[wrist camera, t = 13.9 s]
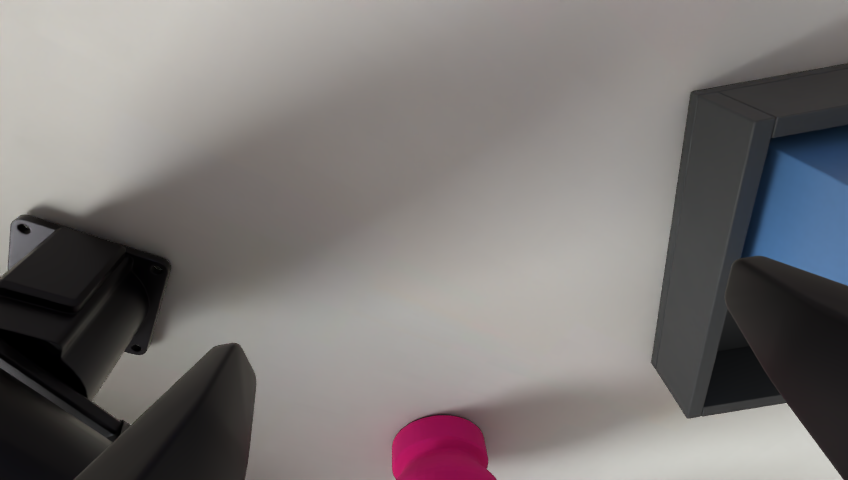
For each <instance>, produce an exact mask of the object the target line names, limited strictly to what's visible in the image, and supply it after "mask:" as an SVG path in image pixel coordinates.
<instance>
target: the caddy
mask: <svg viewBox="0 0 848 480" xmlns="http://www.w3.org/2000/svg"><path fill="white" fill-rule="evenodd" d="M844 125H848V64H842V65H837V66H831V67H826V68H820V69H815V70H809V71H803V72H798V73H792V74H787V75H781V76H776V77H770V78H765V79H759V80H754V81H748V82H743V83H737V84H732V85H726V86H721V87H715V88H710V89H704V90H698V91H693V92H691V95H690V101H689V108H688V115H687V122H686V129H685V136H684V142H683V149H682V156H681V163H680V170H679V177H678V183H677V190H676V197H675V204H674V211H673V218H672V224H671V231H670V238H669V245H668V252H667V259H666V265H665V272H664V279H663V286H662V293H661V300H660V306H659V313H658V320H657V327H656V334H655V341H654V347H653V354H652V361H651V363H652V365H653V366H654V368H655V369H656V371H657V372H658V374H659V375H660V377H661V379H662V380H663V382H664V383H665V385H666V386H667V388H668V389H669V391H670V393H671V394H672V396H673V397H674V399H675V400H676V402H677V403H678V405H679V407H680V408H681V410H682V411H683V413H684V414H685V416H686V417H687V418H694V417H700V416H708V415H714V414H721V413H727V412H733V411H739V410H745V409H751V408H757V407H764V406H770V405H776V404H782V403H787V402H786V401H785V400H784V398H783V397H782V396H781V394H780V393H779V392H778V390H777V389H776V387H775V386H774V384H773V383H772V382H771V380H770V378H769V377H768V375H767V374H766V372H765V371H764V369H763V367H762V366H761V364H760V362H759V361H758V359H757V357H756V356H755V354H754V352H753V351H752V349H751V347H750V345H749V344H748V342H747V340H746V339H745V337H744V335H743V334H742V332H741V330H740V329H739V327H738V325H737V323H736V322H735V320H734V318H733V317H732V315H731V313H730V312H729V310H728V308H727V306H726V303H725V291H726V287H727V283H728V279H729V274H730V270H731V266H732V264H733V263H734V261H735V260H737V259H740V258H741V255H742V251H743V247H744V243H745V239H746V235H747V231H748V227H749V223H750V219H751V215H752V211H753V208H754V204H755V200H756V196H757V192H758V188H759V184H760V180H761V176H762V172H763V168H764V164H765V160H766V156H767V152H768V148H769V144H770V140H771V138H776V137H782V136H787V135H793V134H799V133H804V132H810V131H816V130H821V129H827V128H833V127H838V126H844Z"/></svg>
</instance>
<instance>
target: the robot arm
mask: <svg viewBox="0 0 848 480" xmlns="http://www.w3.org/2000/svg"><path fill="white" fill-rule="evenodd" d="M24 225H26V226H28V227H29V228H30V229H28V228H26V227H25V226H24ZM155 266H158V267H160V268H161V269H162V270H159V269H157V268H156V267H155ZM170 270H171V265H170V263H169V262H168V261H167V260H166V259H164V258H161V257H158V256H155V255H152V254H149V253H146V252H143V251H140V250H136V249H133V248H130V247H127V246H124V245H121V244H118V243H115V242H111V241H108V240H105V239H102V238H99V237H96V236H93V235H90V234H86V233H83V232H80V231H77V230H74V229H71V228H68V227H64V226H61V225H58V224H55V223H52V222H49V221H46V220H43V219H39V218H36V217H33V216H30V215H21V216H19V217H18V218H17V219H15V220H14V221H13V222H12V223H11V229H10V244H9V258H8V271H7V272H6V273H5V274H4V275H2V276H1V277H0V480H245V475H246V470H247V465H248V457H249V449H250V440H251V431H252V421H253V412H254V402H255V393H256V376H255V373H254V370H253V368H252V366H251V365H250V363H249V361H248V359H247V357H246V355H245V353H244V351H243V349H242V348H241V346H240V345H239V344H237V343H230V344H224V345H218V346H215V347H213V348H212V349H211V350H210V351H209V352H208V353H207V354H206V355H204V356H203V357H202V358H201V359H200V360H199V361H198V362H197V363H196V364H195V365H194V366H193V367H192V368H191V369H190V370H189V371H188V372H187V373H185V374H184V375H183V376H182V377H181V378H180V379H179V380H178V381H177V382H176V383H175V384H174V385H173V386H172V387H171V388H170V389H169V390H168V391H166V392H165V393H164V394H163V395H162V396H161V397H160V398H159V399H158V400H157V401H156V402H155V403H154V404H153V405H152V406H151V407H150V408H149V409H148V410H146V411H145V412H144V413H143V414H142V415H141V416H140V417H139V418H138V419H137V420H136V421H135V422H134V423H133V424H132V425H129V424H128V423H127V422H125V421H124V420H120V421H119V420H118V419H116V418H115V417H114V416H112V415H111V414H109V413H108V412H106V411H105V410H104V409H102V408H101V407H99V406H98V405H96V404H95V403H94V402H92V400H93V399H94V397H95V396H96V394H97V392H98V391H99V389H100V388H101V386H102V385H103V383H104V382H105V380H106V379H107V377H108V375H109V374H110V372H111V371H112V369H113V368H114V366H115V365H116V363H117V362H118V360H119V359H120V357H121V355H122V354H123V352H127V353H131V354H135V355H142V354H144V353H145V352H146V351H147V349H148V347H149V346H150V343H151V339H152V335H153V332H154V328H155V325H156V321H157V317H158V314H159V310H160V307H161V303H162V299H163V296H164V292H165V289H166V285H167V281H168V278H169V274H170ZM725 303H726V306H727V308H728V310H729V312H730V313H731V315H732V317H733V318H734V320H735V322H736V323H737V325H738V327H739V329H740V330H741V332H742V334H743V335H744V337H745V339H746V340H747V342H748V344H749V345H750V347H751V349H752V351H753V352H754V354H755V356H756V357H757V359H758V361H759V362H760V364H761V366H762V367H763V369H764V371H765V372H766V374H767V375H768V377H769V378H770V380H771V382H772V383H773V384H774V386H775V387H776V389H777V390H778V392H779V393H780V394H781V396H782V397H783V398H784V400H785V401H786V402H787V404H788V405H789V407H790V408H791V409H792V411H793V412H794V413H795V415H796V416H797V417H798V419H799V420H800V421H801V423H802V424H803V425H804V427H805V428H806V429H807V431H808V432H809V434H810V435H811V436H812V438H813V439H814V440H815V442H816V443H817V444H818V446H819V447H820V448H821V450H822V451H823V452H824V454H825V455H826V456H827V458H828V459H829V461H830V462H831V463H832V465H833V466H834V467H835V469H836V470H837V471H838V473H839V474H840V475H841V477H842V478H843V479H844V480H848V286H847V285H844V284H842V283H839V282H836V281H833V280H830V279H827V278H825V277H822V276H819V275H816V274H813V273H810V272H807V271H805V270H802V269H799V268H796V267H793V266H790V265H787V264H785V263H782V262H779V261H776V260H773V259H770V258H768V257H765V256H751V257H745V258H740V259H737V260H735V261H734V263H733V264H732V266H731V270H730V274H729V279H728V283H727V287H726V291H725ZM138 345H139V346H138Z"/></svg>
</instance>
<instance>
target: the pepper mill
mask: <svg viewBox="0 0 848 480" xmlns="http://www.w3.org/2000/svg"><path fill="white" fill-rule="evenodd" d="M487 465H488V456H487V451H486V446H485V441H484V437H483V434H482V432H481V430H480V429H479V428H478V427H477V426H476V425H475V424H473V423H472V422H471V421H469V420H466V419H463V418H461V417H457V416H450V415H436V416H431V417H425V418H421V419H419V420H416V421H414V422H411V423H410V424H408V425H407V426H405V427H404V428H403V429H401V430H400V432H399V433H398V434H397V435H396V437H395V439H394V441H393V445H392V470H393V475H394V477H395V478H396V480H496V478H495V477H494V476H493V475H492V474H491V473H490V472H489V471H488V470H487V469H486V468H487Z"/></svg>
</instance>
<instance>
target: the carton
mask: <svg viewBox="0 0 848 480" xmlns="http://www.w3.org/2000/svg"><path fill="white" fill-rule="evenodd" d="M751 256H765V257H768V258H770V259H773V260H776V261H779V262H782V263H785V264H787V265H790V266H793V267H796V268H799V269H802V270H805V271H807V272H810V273H813V274H816V275H819V276H822V277H825V278H827V279H830V280H833V281H836V282H839V283H842V284H844V285H847V286H848V125H844V126H838V127H833V128H827V129H821V130H816V131H810V132H804V133H799V134H793V135H787V136H782V137H776V138H771V140H770V144H769V148H768V152H767V156H766V160H765V164H764V168H763V172H762V176H761V180H760V184H759V188H758V192H757V196H756V200H755V204H754V208H753V211H752V215H751V219H750V223H749V227H748V231H747V235H746V239H745V243H744V247H743V251H742V255H741V258H745V257H751Z"/></svg>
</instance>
